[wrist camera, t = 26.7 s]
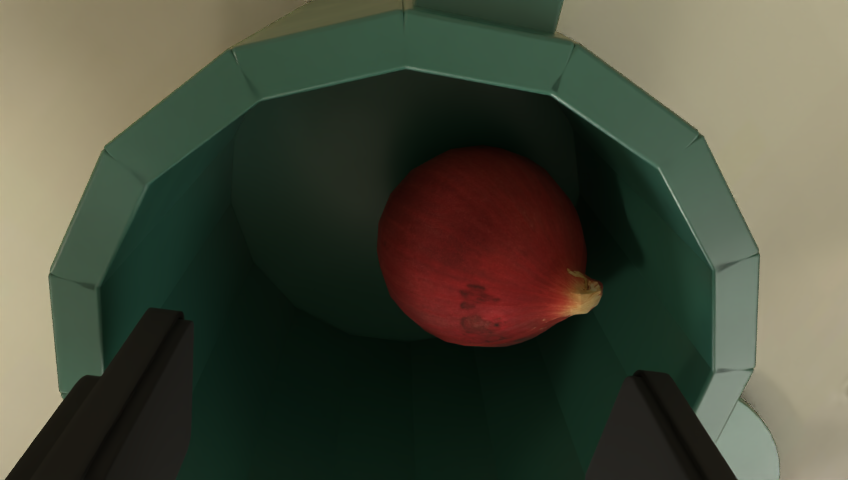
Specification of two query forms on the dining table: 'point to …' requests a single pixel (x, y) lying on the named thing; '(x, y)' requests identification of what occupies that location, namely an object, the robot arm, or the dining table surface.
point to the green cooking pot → (358, 260)
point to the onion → (484, 249)
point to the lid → (749, 445)
